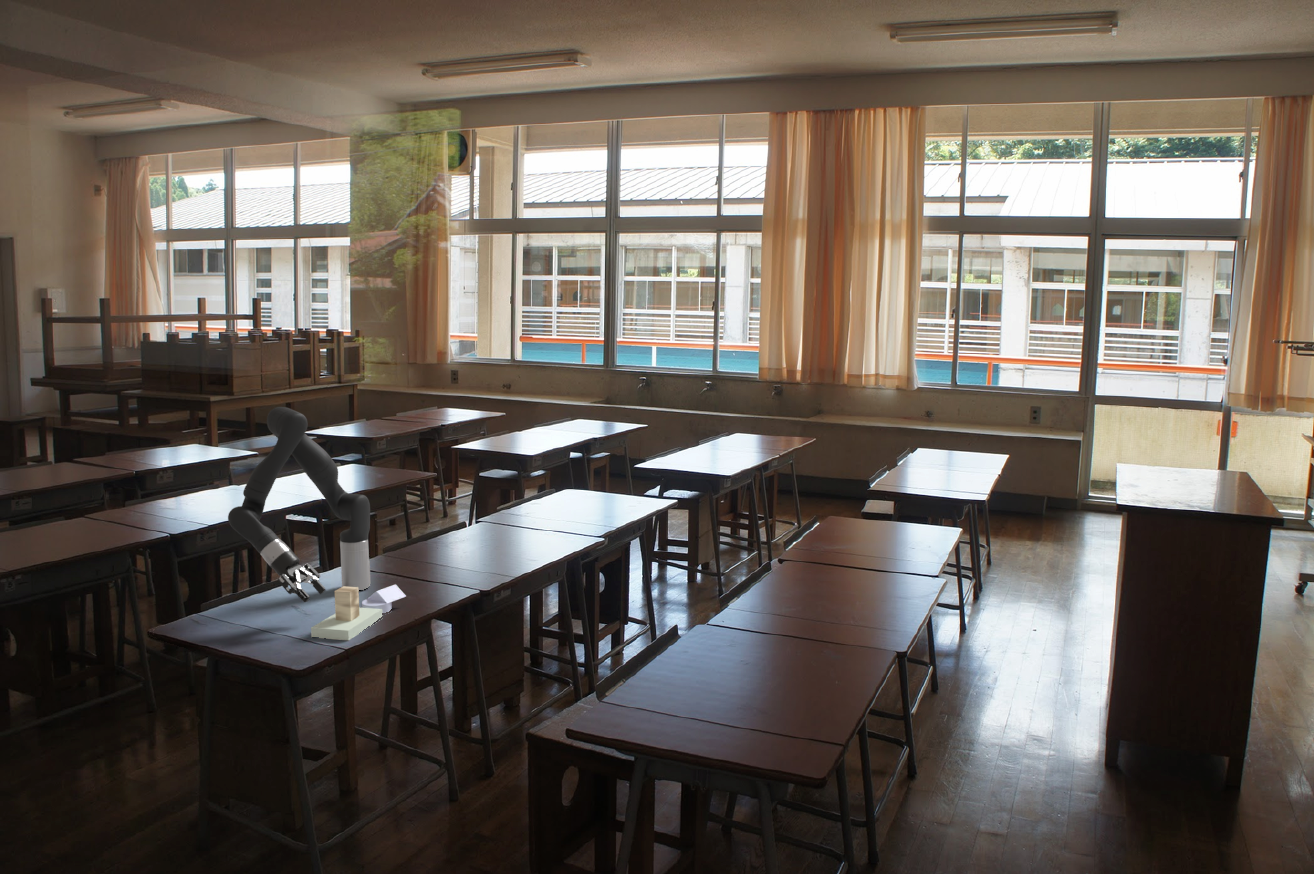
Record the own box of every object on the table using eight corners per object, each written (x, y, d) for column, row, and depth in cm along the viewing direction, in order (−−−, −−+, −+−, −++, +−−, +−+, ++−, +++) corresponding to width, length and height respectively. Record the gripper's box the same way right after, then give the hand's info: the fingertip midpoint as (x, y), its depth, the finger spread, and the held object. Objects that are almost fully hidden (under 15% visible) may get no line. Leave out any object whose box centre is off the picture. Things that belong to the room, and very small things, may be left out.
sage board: (347, 615, 286) (347, 606, 285) (382, 618, 283) (382, 609, 283) (311, 637, 266) (311, 627, 266) (348, 640, 264) (348, 630, 263)
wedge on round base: (386, 602, 300) (356, 613, 288) (385, 582, 299) (355, 592, 287) (406, 606, 296) (377, 617, 284) (406, 586, 295) (376, 596, 283)
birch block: (344, 614, 277) (343, 586, 276) (359, 615, 276) (358, 587, 275) (335, 620, 273) (334, 591, 271) (350, 621, 272) (349, 592, 270)
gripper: (273, 555, 269) (309, 595, 268) (300, 543, 282) (335, 581, 282) (258, 571, 270) (294, 611, 270) (286, 559, 284) (321, 596, 283)
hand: (315, 595), depth 276 cm, fingers open, 8 cm apart
